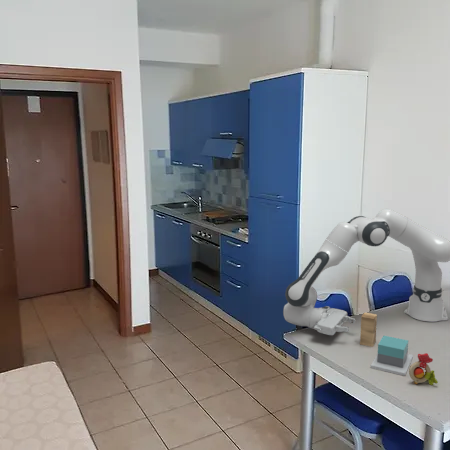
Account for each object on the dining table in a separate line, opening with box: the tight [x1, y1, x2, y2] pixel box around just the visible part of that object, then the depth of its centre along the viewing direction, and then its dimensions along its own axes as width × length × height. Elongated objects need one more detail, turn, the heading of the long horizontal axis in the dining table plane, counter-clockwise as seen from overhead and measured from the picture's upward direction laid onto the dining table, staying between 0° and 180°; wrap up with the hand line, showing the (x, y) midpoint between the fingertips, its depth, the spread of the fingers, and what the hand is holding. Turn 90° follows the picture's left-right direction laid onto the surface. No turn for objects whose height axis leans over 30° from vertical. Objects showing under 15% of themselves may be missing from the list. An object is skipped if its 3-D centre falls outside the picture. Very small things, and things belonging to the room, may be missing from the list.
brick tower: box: [370, 335, 414, 377], centre depth 173 cm, size 16×12×8 cm
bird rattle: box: [408, 353, 439, 386], centre depth 158 cm, size 6×11×9 cm
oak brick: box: [359, 312, 378, 348], centre depth 189 cm, size 5×5×12 cm
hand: (351, 325), depth 193 cm, fingers open, 8 cm apart
